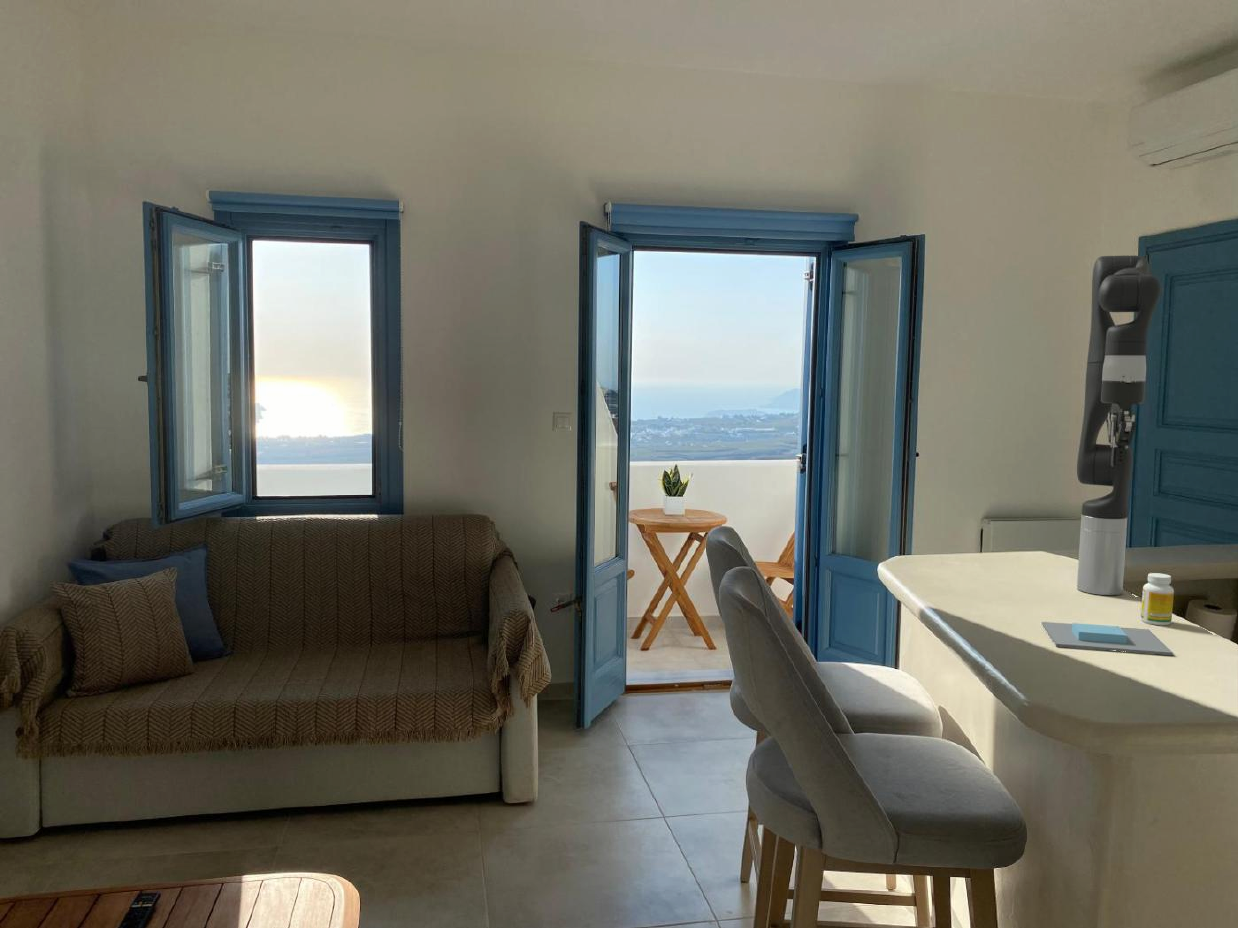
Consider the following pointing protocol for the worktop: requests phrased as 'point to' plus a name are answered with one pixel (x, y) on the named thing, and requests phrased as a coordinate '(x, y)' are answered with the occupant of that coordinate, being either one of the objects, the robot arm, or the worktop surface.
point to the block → (1099, 633)
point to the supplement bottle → (1157, 600)
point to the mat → (1135, 642)
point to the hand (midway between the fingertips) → (1117, 466)
